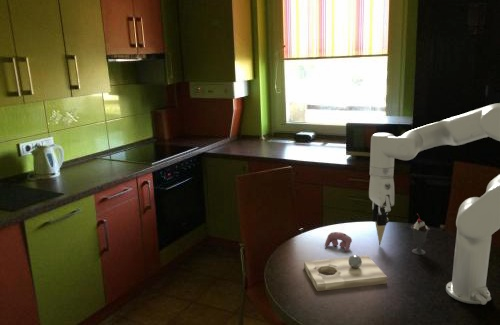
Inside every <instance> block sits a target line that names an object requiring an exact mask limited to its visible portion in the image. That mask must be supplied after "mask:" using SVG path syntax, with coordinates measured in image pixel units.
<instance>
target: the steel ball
mask: <svg viewBox="0 0 500 325" xmlns="http://www.w3.org/2000/svg"><path fill="white" fill-rule="evenodd" d="M359 256H360V255H357V254H356V255H355V254H354V255H351V256H349V257H350V258H349V261H348V262H349V265H350V266H351V267H352V268H359V267H360V266H361V264H362V260H361V258H360V257H359Z"/></svg>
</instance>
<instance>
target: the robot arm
mask: <svg viewBox="0 0 500 325" xmlns="http://www.w3.org/2000/svg"><path fill="white" fill-rule="evenodd" d="M488 137H489V138H492V139H493V140H495V141H499V142H500V102H499V103H493V104H489V105H486V106H483V107H479V108H476V109H474V110H470V111H468V112H465V113H462V114H459V115H455V116H451V117H449V118H446V119H442V120H440V121H436V122H433V123H429V124H426V125H423V126H420V127H417V128H414V129H411V130H408V131H406V132H404V133H403V134H401V135H399V136H395V135H394V134H393V133H389V132H376V133H374V134H372V135H371V137H370V154H369V156H370V158H369V176H370V178H369V186H368V187H369V188H368V198H369V199H370V201H371V204H372V205H371V209H372V210H371V212H372V215H371V221H372V222H376V221H377V225H378V226H383V225H386V226H387V224H388V223H387V218H388V215H389V214H388V213H390V212H392V211H391V210H392V209H391V207H394V206H395V181H394V172H395V171H394V170H395V159H396V160H397V159H398V160H401V161H410V160H413V159H414V158H416V156H417V155H418V153H420V152H423V151H424V150H428V149H432V148H434V147H439V146H447V145H449V146H460V145H461V146H462V145H465V144H467V143H471V142H474V141H477V140H481V139H483V138H485V139H486V138H488ZM485 190H486V191H485V193H484V194H483V195H481V196H480V197H478V196H473V197H469V198H467V199H465V200H464V201H463V202H462V203H461V204H460V205H459V208H458V211H457V215H456V220H455V226H456V235H455V236H456V238H455V248H454V256H453V267H452V268H453V269H452V275H451V276H452V278H451V279H452V280H451V281H449V282H448V283H447V284H446V285H445V291H446V293H447V294H448V295H449V296H450V297H451V298H452V299H455V300H457V301H459V302H462V303H466V304H469V305H470V304H471V305H486V304H487V303H488V302H490V301H491V300H492V297H491V293H490V290H488V286H487V277H488V268H489V260H490V253H491V244H492V235H493V234H495V232H497V231H499V230H500V173H498V175H497V176H495V177H494V178H493V179H492V180H490V181H489V183H488V184H487V186H486V189H485Z"/></svg>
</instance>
